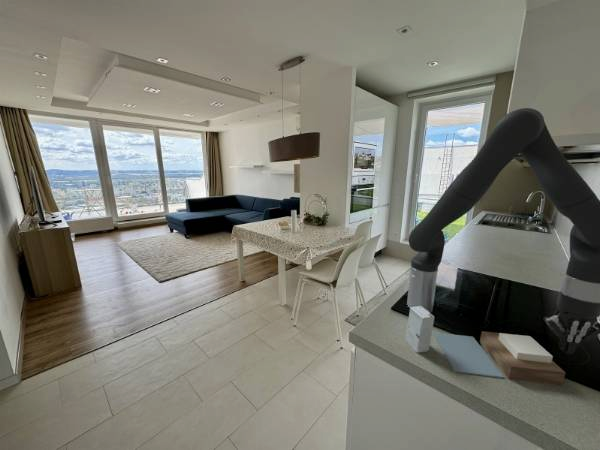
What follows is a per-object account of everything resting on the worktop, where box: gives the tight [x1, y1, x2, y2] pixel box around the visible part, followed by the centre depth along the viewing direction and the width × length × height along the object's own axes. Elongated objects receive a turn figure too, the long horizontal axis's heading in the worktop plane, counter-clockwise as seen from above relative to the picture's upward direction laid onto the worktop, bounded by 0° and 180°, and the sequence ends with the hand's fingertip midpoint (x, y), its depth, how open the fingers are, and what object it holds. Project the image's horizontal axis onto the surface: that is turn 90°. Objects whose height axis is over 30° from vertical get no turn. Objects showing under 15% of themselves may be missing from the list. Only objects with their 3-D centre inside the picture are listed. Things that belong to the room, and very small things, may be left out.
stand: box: [479, 331, 566, 387], centre depth 68 cm, size 14×12×4 cm
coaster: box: [498, 332, 554, 363], centre depth 67 cm, size 8×8×2 cm
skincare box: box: [405, 306, 435, 353], centre depth 74 cm, size 6×4×12 cm
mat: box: [433, 332, 505, 379], centre depth 72 cm, size 16×12×1 cm
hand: (565, 351), depth 66 cm, fingers closed
